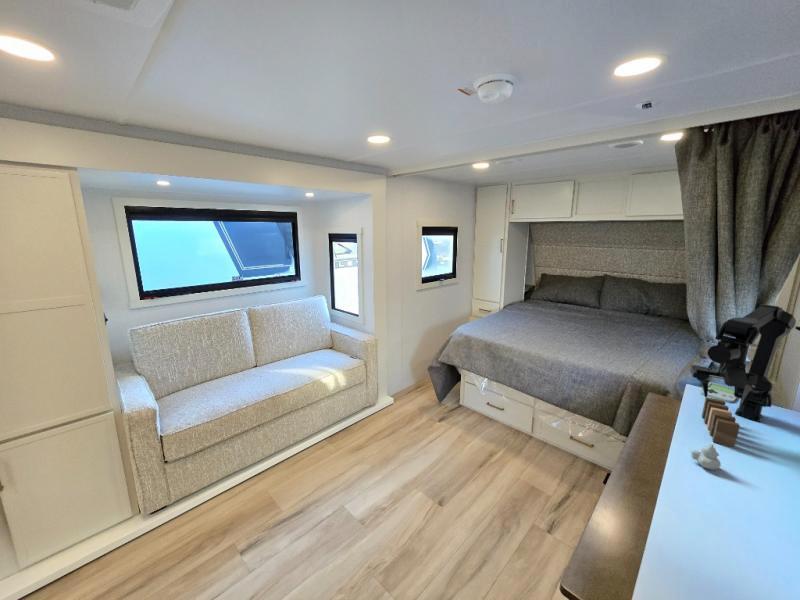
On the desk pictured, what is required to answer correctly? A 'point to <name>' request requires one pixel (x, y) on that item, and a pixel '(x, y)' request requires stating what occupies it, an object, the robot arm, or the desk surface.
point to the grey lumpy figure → (707, 457)
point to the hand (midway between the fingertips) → (723, 400)
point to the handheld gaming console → (720, 392)
